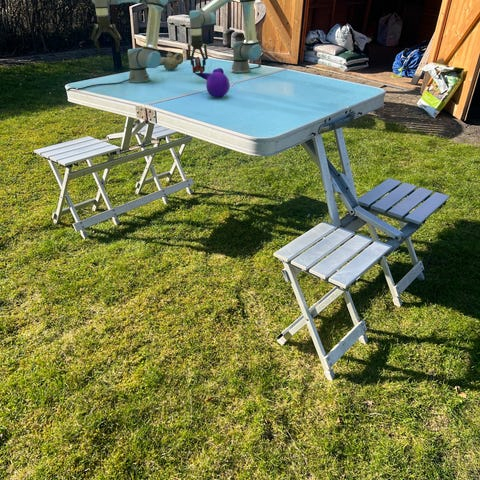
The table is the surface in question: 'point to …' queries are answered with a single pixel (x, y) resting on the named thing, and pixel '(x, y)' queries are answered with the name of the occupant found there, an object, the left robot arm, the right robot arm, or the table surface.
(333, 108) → the table surface
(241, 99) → the table surface
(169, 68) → the teapot
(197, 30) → the right robot arm
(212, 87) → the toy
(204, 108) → the table surface
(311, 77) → the table surface
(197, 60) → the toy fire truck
